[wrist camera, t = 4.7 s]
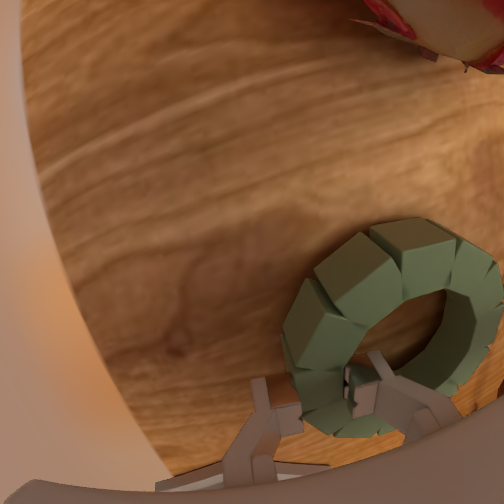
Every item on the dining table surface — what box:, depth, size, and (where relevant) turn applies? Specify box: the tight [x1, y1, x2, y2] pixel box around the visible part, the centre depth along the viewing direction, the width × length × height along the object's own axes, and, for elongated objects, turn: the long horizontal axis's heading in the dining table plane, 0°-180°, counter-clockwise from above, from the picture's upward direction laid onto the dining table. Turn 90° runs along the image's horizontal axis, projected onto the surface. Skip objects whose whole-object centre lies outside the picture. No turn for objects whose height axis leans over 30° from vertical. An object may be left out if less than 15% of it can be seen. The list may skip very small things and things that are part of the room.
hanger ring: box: [281, 217, 504, 438], centre depth 12 cm, size 10×10×2 cm
